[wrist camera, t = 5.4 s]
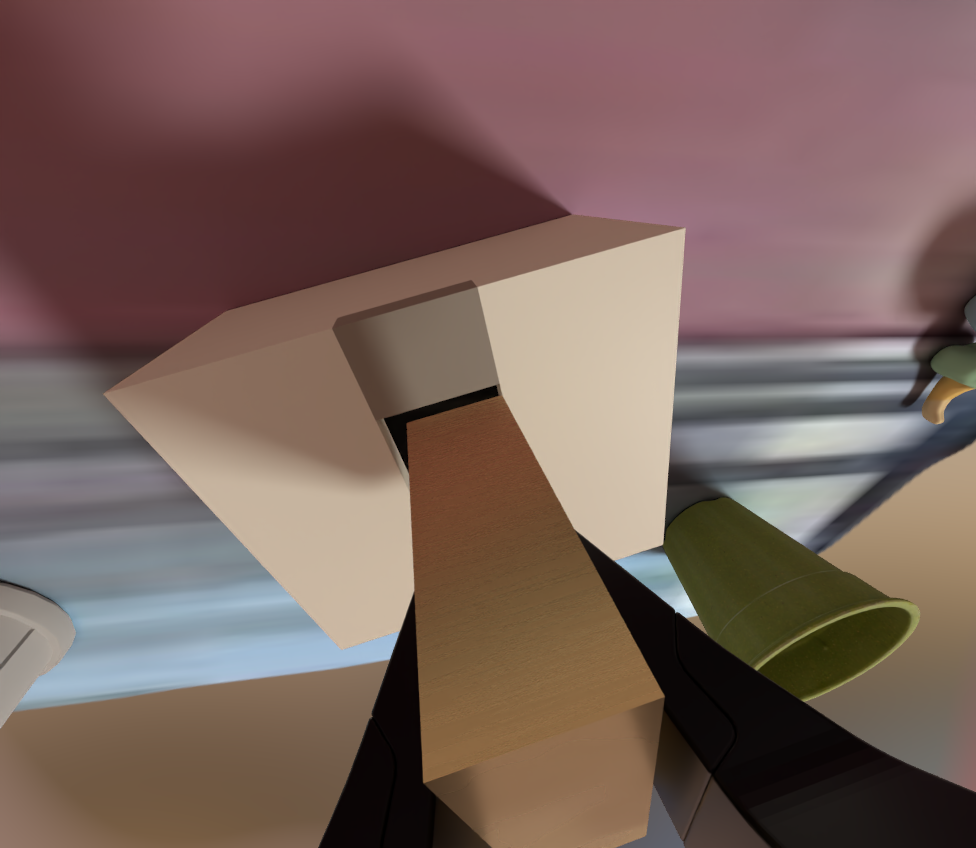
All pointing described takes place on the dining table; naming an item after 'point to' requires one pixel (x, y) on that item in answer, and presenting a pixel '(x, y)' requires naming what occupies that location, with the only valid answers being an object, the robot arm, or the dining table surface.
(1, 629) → the cup
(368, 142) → the dining table surface
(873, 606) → the plant pot
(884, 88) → the dining table surface
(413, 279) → the box
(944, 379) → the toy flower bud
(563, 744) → the block
